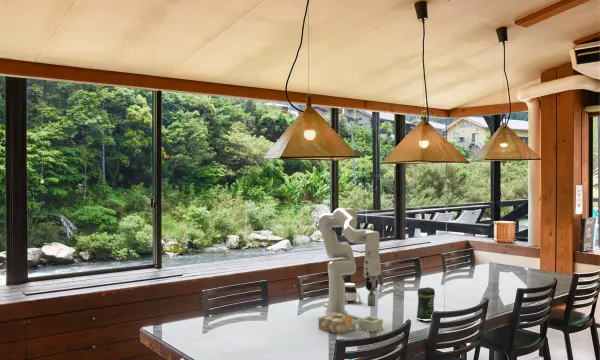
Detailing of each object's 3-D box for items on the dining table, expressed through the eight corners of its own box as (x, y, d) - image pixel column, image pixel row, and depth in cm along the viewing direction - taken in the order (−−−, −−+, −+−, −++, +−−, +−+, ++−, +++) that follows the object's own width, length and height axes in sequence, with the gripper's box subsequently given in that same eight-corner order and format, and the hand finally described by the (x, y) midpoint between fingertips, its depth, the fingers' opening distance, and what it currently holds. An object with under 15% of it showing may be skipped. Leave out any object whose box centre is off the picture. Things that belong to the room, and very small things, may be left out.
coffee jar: (424, 323, 272) (425, 289, 272) (414, 319, 278) (415, 287, 279) (436, 320, 277) (437, 288, 277) (426, 317, 283) (427, 285, 284)
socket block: (318, 328, 258) (318, 316, 258) (334, 322, 269) (334, 312, 269) (339, 334, 249) (339, 322, 249) (355, 328, 259) (355, 317, 259)
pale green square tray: (358, 328, 259) (359, 319, 259) (368, 325, 266) (368, 316, 266) (373, 332, 253) (373, 322, 253) (382, 328, 260) (382, 319, 260)
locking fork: (332, 322, 247) (332, 313, 247) (349, 317, 257) (349, 308, 257) (348, 326, 240) (348, 317, 240) (364, 321, 251) (364, 311, 251)
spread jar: (340, 300, 322) (341, 282, 322) (356, 299, 326) (356, 281, 326) (348, 304, 311) (349, 286, 311) (364, 303, 315) (364, 285, 315)
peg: (365, 305, 259) (365, 275, 259) (370, 304, 262) (370, 274, 263) (372, 307, 256) (372, 276, 256) (377, 305, 259) (377, 275, 260)
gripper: (369, 256, 251) (368, 291, 251) (386, 253, 263) (386, 287, 263) (357, 254, 256) (356, 289, 256) (374, 252, 268) (374, 285, 268)
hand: (371, 288), depth 259 cm, fingers closed on peg, 4 cm apart
